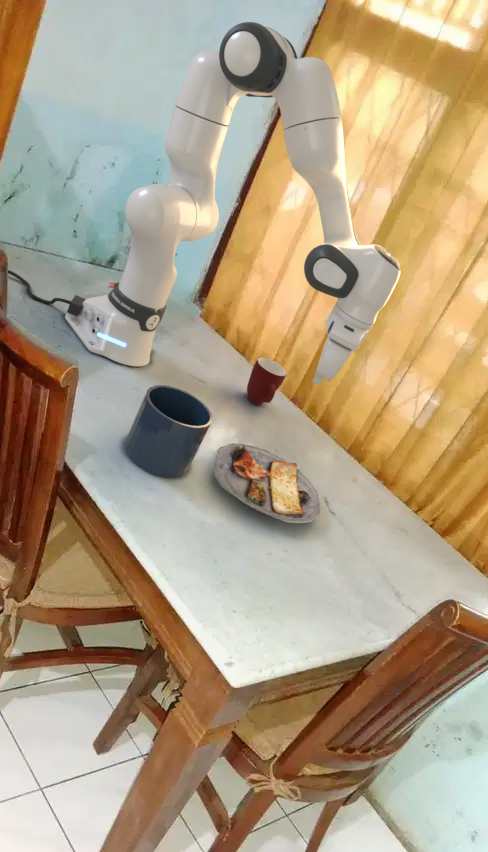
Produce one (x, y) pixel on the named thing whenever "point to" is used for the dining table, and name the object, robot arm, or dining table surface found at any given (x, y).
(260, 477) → the food plate
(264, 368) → the mug
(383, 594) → the dining table surface
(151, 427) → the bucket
